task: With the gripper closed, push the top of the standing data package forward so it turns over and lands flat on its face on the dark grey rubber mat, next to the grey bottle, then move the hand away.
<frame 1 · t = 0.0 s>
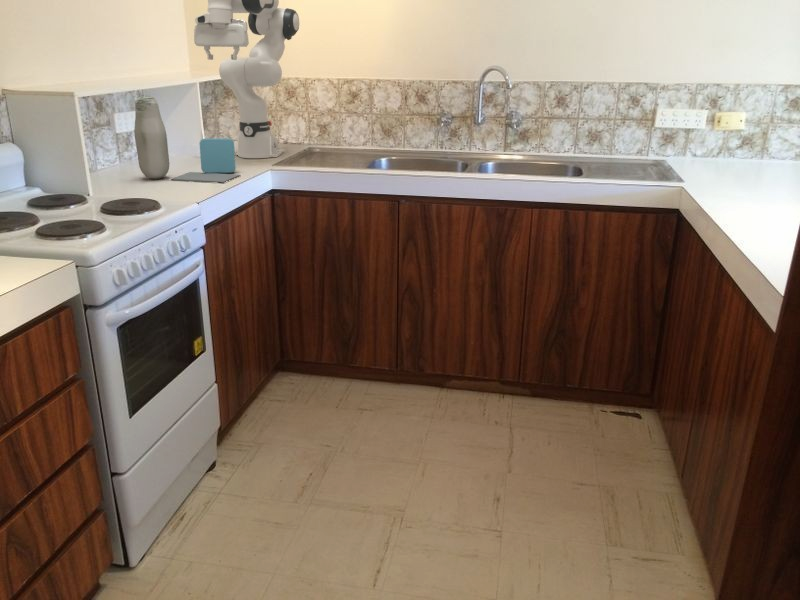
hand: (222, 59, 247), 39 cm above the countertop, tool pointing down, fingers open, 8 cm apart
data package: (218, 172, 246), on the countertop, touching mat
grey bottle: (156, 179, 237), on the countertop
mat: (206, 178, 238), on the countertop
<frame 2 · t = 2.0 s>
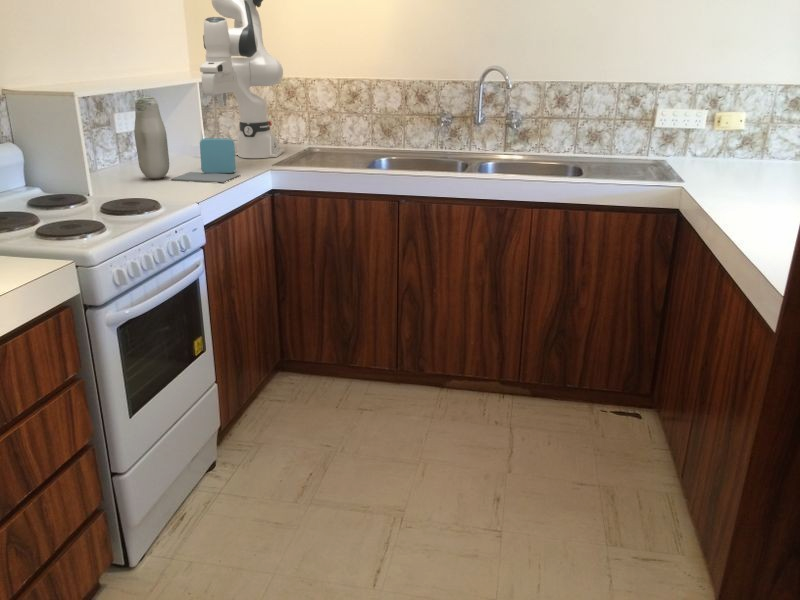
hand: (222, 106, 245), 23 cm above the countertop, tool pointing down, fingers closed
nothing on the countertop moved.
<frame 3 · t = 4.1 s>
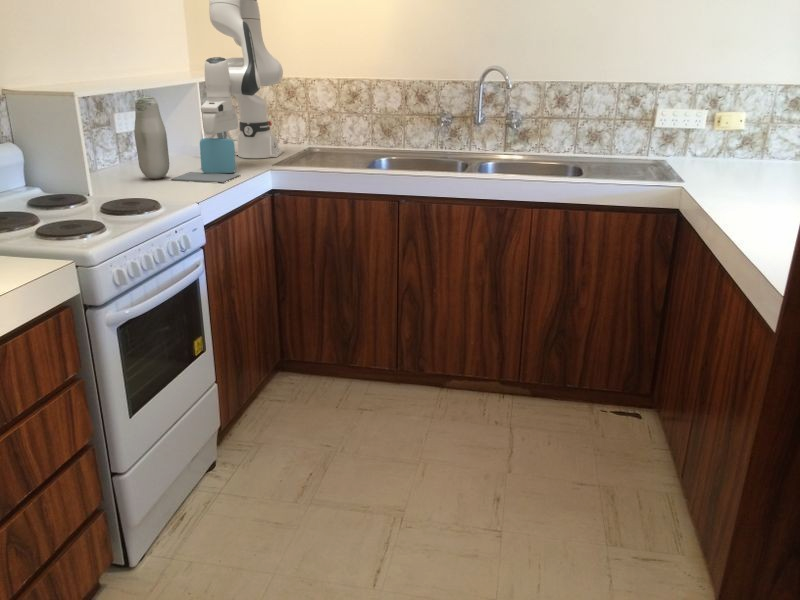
hand: (223, 144, 248), 10 cm above the countertop, tool pointing down, fingers closed
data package: (218, 172, 246), on the countertop, touching gripper, mat
everything else where it was.
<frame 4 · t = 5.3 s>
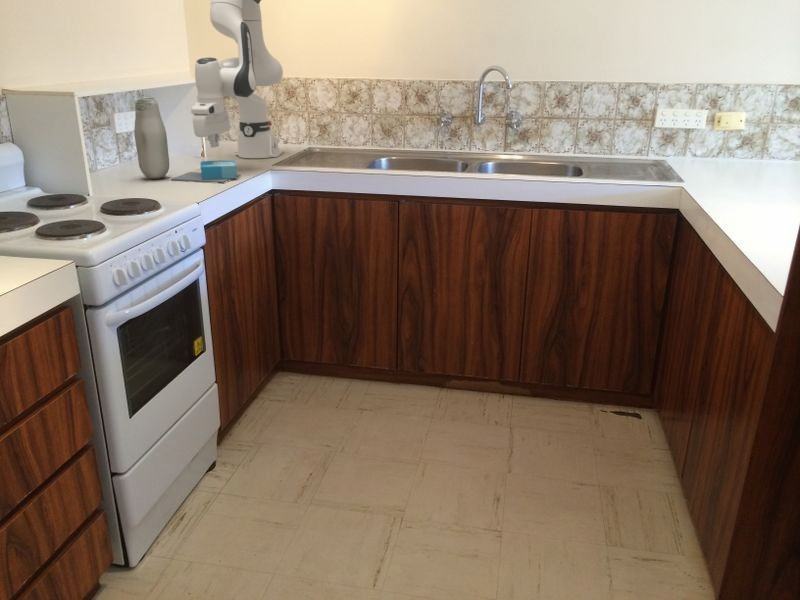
hand: (214, 146, 241), 10 cm above the countertop, tool pointing down, fingers closed
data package: (218, 166, 243), point 3 cm above the countertop, touching mat
everything else where it was.
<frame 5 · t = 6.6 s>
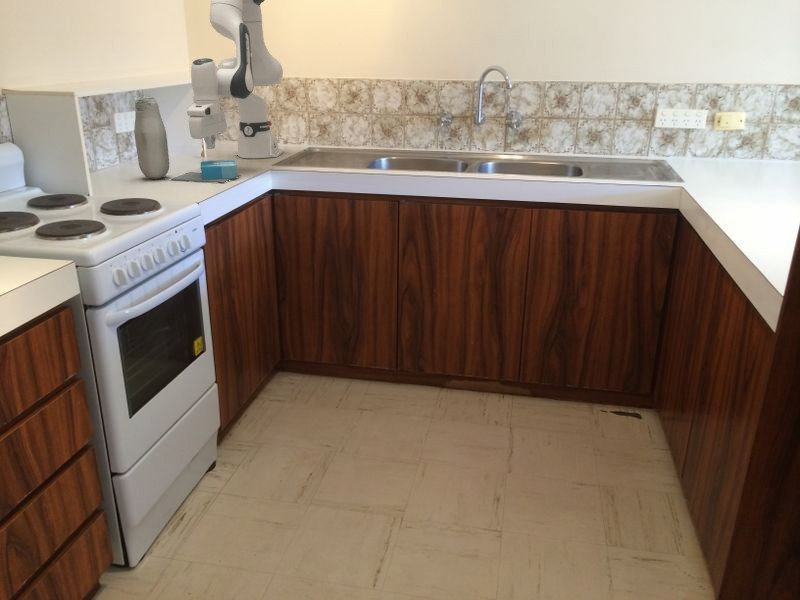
hand: (211, 148, 239), 10 cm above the countertop, tool pointing down, fingers closed
nothing on the countertop moved.
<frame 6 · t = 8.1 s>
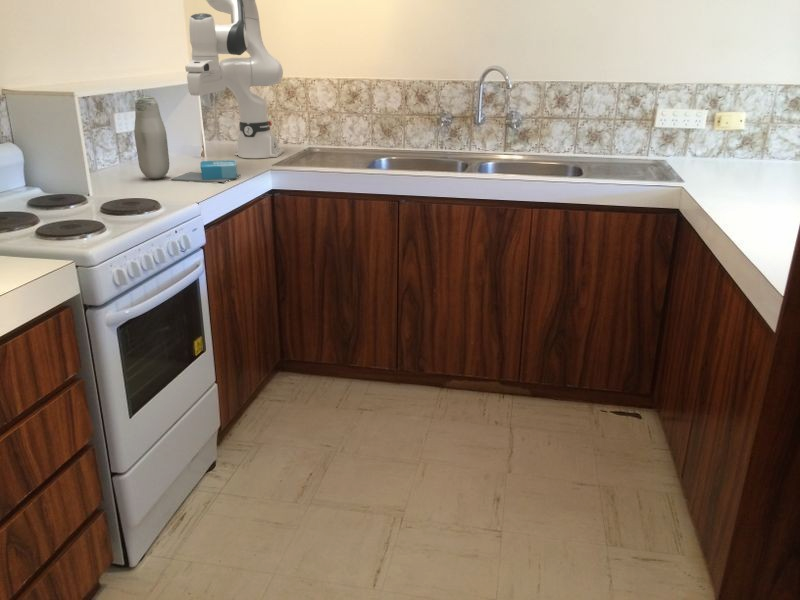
hand: (209, 106, 236), 24 cm above the countertop, tool pointing down, fingers closed
nothing on the countertop moved.
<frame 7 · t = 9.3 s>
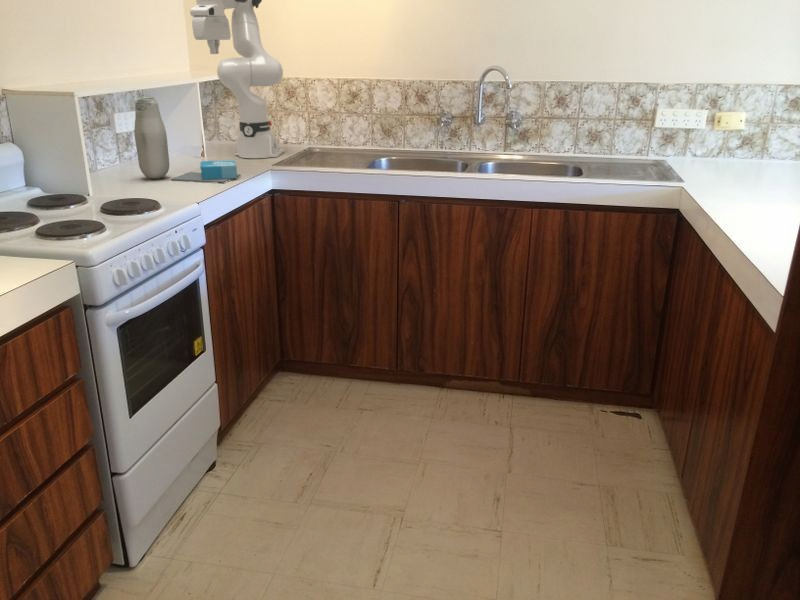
hand: (214, 54, 234), 41 cm above the countertop, tool pointing down, fingers closed
nothing on the countertop moved.
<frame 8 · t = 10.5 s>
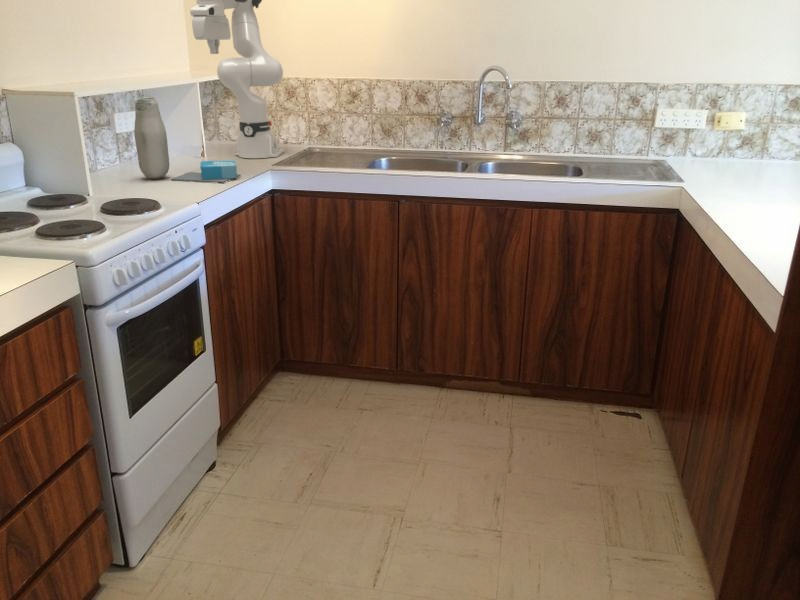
hand: (214, 53, 234), 41 cm above the countertop, tool pointing down, fingers closed
nothing on the countertop moved.
at the end: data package tilted 90°; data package inside the target area (8.1 cm from its centre), point 2.9 cm above the countertop; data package touching mat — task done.
